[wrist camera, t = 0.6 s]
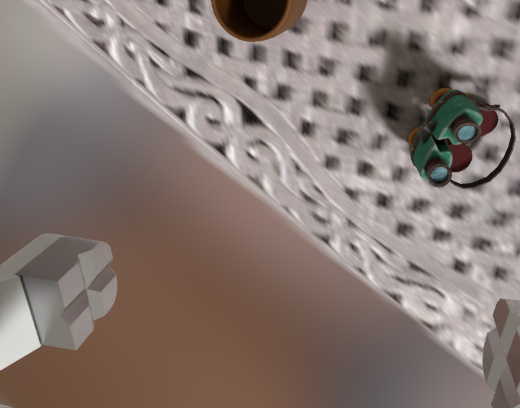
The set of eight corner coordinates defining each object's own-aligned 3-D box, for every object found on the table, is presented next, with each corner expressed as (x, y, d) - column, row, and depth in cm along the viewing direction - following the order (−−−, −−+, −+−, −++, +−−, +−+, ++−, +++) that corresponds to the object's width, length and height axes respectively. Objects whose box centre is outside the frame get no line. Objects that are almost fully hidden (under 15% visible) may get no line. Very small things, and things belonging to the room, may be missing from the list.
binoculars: (500, 227, 42) (403, 186, 41) (470, 179, 51) (391, 145, 50) (566, 145, 37) (458, 99, 37) (521, 108, 46) (434, 71, 46)
